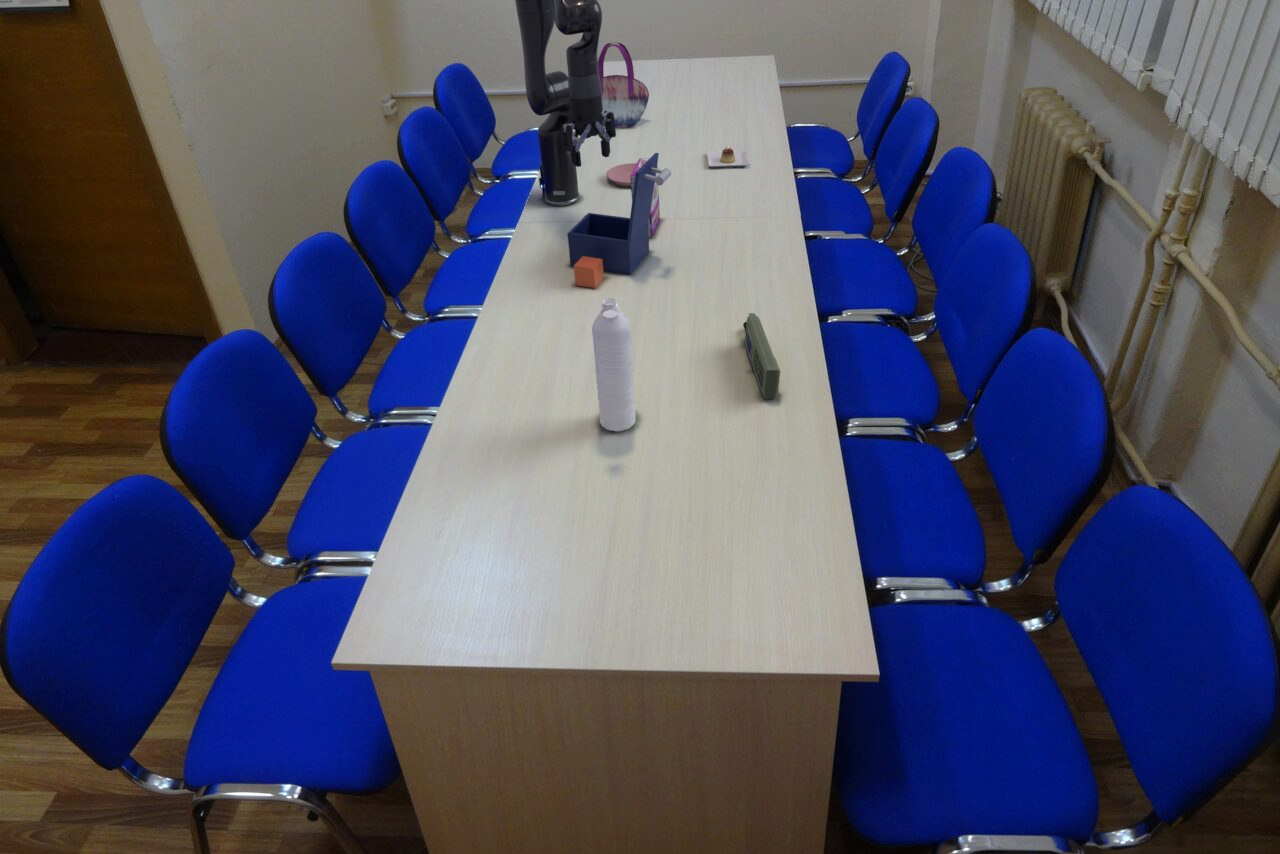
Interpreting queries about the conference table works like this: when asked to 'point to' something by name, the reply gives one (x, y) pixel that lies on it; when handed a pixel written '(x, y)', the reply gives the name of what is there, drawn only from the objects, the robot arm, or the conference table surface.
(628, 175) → the plate
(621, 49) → the handbag
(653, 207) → the candy bar box
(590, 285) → the cube
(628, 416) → the water bottle
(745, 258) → the conference table surface
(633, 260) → the case
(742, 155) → the dessert
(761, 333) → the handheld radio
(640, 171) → the case lid
